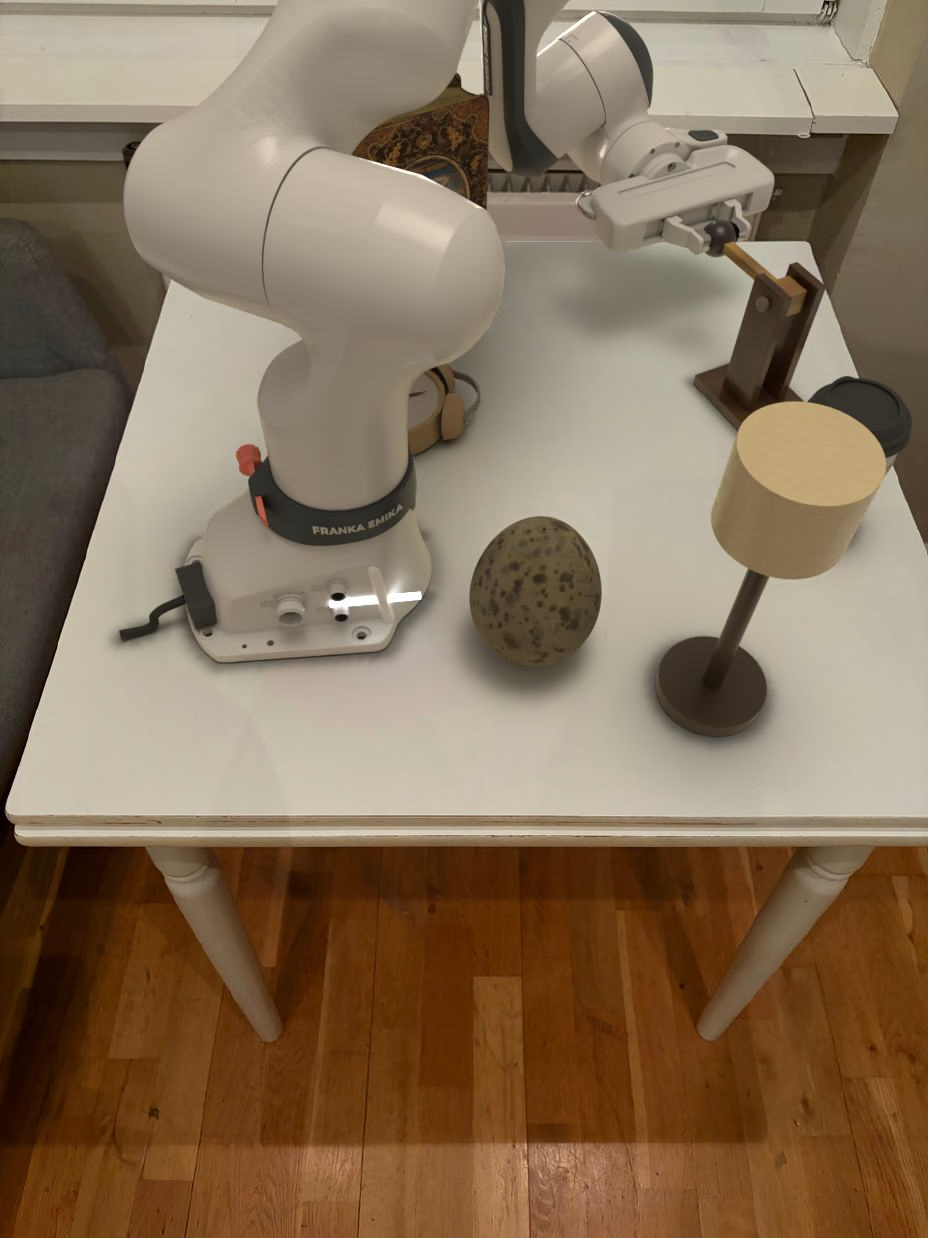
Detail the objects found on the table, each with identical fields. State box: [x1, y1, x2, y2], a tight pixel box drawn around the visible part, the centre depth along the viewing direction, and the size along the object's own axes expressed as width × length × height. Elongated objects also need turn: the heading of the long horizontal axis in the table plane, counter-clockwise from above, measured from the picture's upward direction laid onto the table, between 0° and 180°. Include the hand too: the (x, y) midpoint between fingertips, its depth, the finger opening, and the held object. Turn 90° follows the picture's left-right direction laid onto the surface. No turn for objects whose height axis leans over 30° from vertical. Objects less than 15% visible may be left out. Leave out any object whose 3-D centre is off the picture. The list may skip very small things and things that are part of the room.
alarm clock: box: [408, 364, 481, 455], centre depth 98 cm, size 11×5×15 cm
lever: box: [703, 220, 807, 317], centre depth 94 cm, size 14×4×4 cm, turn 27°
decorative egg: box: [468, 515, 603, 667], centre depth 77 cm, size 11×11×15 cm
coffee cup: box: [806, 375, 913, 477], centre depth 86 cm, size 9×9×15 cm
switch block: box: [692, 261, 827, 431], centre depth 96 cm, size 10×8×15 cm
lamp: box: [654, 401, 886, 738], centre depth 69 cm, size 9×9×28 cm
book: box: [351, 71, 489, 212], centre depth 98 cm, size 16×6×25 cm, turn 122°
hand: (724, 240), depth 96 cm, fingers closed on lever, 3 cm apart
